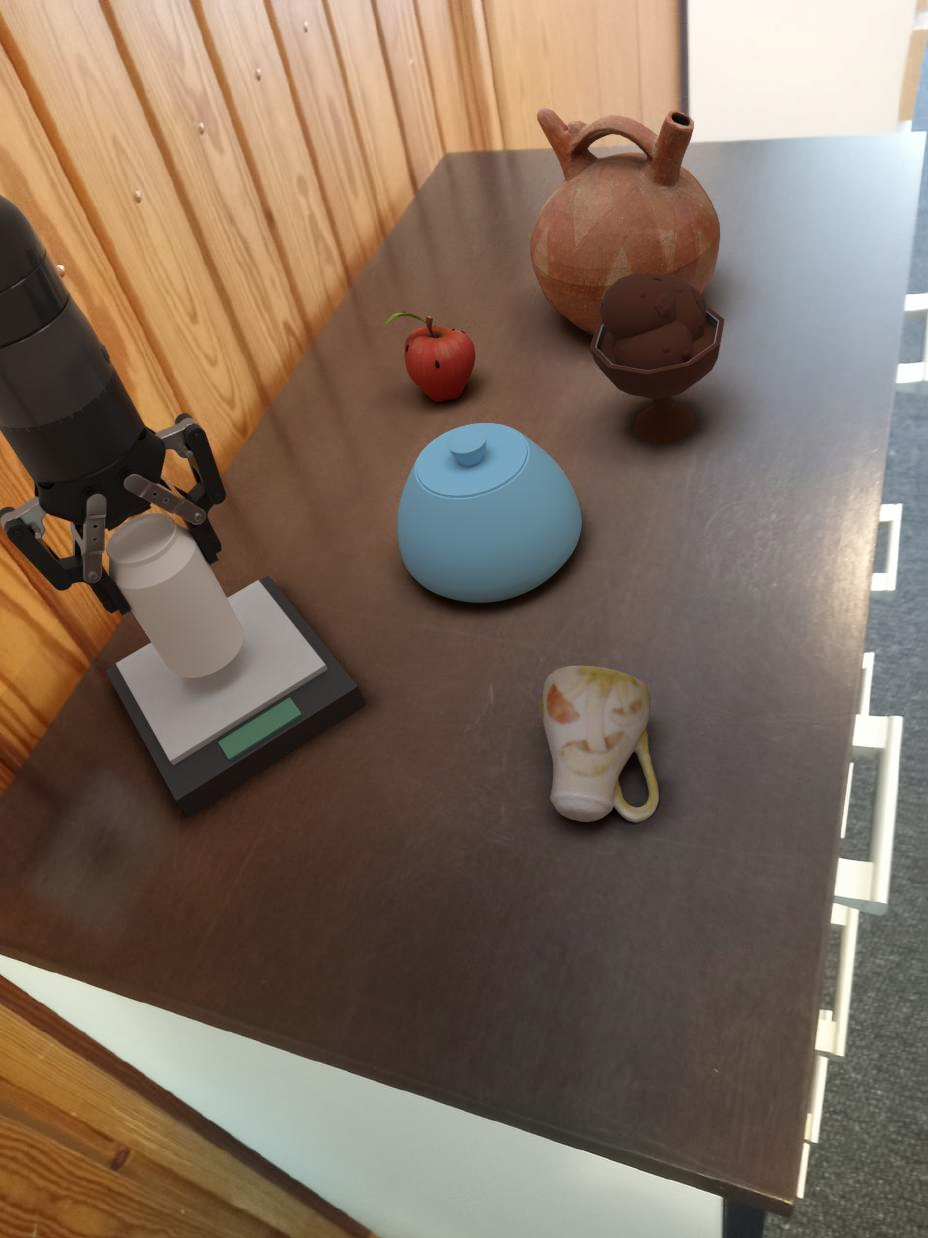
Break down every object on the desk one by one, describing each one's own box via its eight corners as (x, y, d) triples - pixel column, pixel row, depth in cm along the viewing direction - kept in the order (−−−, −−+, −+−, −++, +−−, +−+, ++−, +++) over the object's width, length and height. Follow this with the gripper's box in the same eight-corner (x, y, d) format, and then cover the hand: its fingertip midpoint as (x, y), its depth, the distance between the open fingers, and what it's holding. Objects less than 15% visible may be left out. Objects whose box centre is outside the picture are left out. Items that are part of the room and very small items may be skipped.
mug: (529, 842, 66) (493, 700, 64) (586, 771, 74) (555, 642, 72) (638, 847, 63) (604, 696, 60) (686, 771, 70) (657, 635, 68)
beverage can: (257, 620, 79) (196, 502, 70) (235, 683, 75) (168, 566, 66) (183, 624, 80) (115, 509, 72) (158, 686, 76) (82, 572, 68)
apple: (458, 364, 105) (435, 275, 98) (496, 389, 101) (475, 298, 94) (396, 399, 103) (368, 312, 96) (432, 427, 99) (406, 337, 92)
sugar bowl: (443, 643, 80) (406, 534, 71) (383, 532, 90) (345, 426, 82) (617, 566, 81) (600, 451, 73) (539, 466, 92) (516, 355, 83)
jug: (508, 346, 106) (468, 153, 91) (593, 255, 114) (568, 66, 100) (673, 376, 96) (657, 166, 82) (752, 274, 105) (749, 69, 91)
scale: (189, 819, 73) (171, 796, 71) (118, 689, 84) (101, 665, 82) (367, 705, 77) (355, 680, 75) (277, 594, 87) (265, 569, 85)
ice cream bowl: (697, 475, 86) (688, 319, 76) (581, 449, 92) (557, 299, 81) (748, 401, 92) (746, 244, 81) (635, 380, 97) (618, 231, 86)
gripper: (138, 308, 65) (236, 507, 77) (-80, 415, 61) (58, 607, 73) (181, 351, 60) (278, 557, 72) (-54, 471, 56) (89, 667, 68)
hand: (166, 582), depth 72 cm, fingers closed on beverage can, 6 cm apart
